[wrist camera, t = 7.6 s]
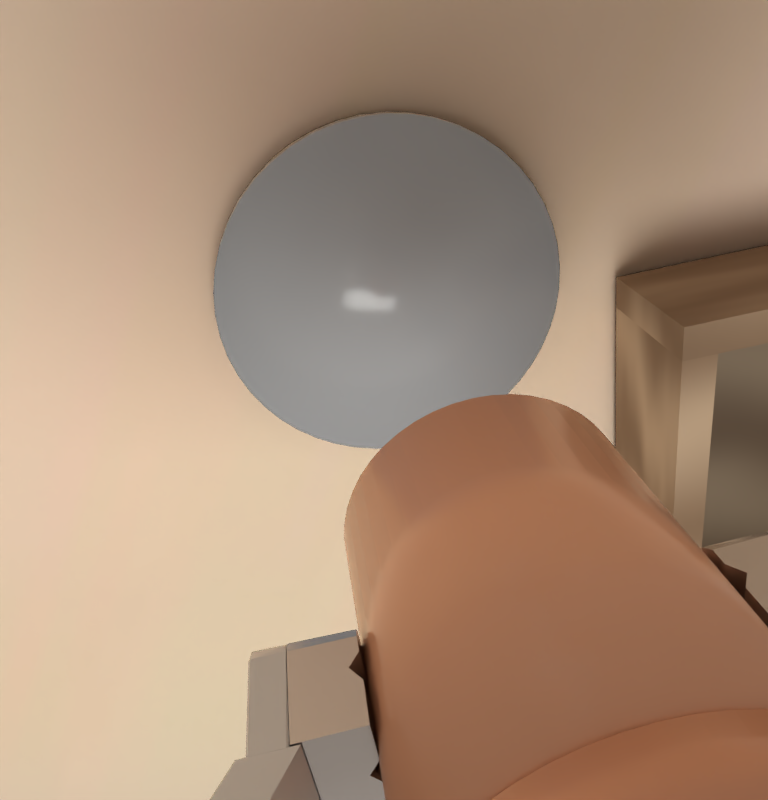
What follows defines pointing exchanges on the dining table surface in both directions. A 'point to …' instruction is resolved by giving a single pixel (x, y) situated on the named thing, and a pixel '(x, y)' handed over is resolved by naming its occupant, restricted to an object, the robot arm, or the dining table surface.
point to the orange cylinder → (545, 620)
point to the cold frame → (697, 390)
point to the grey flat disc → (384, 276)
